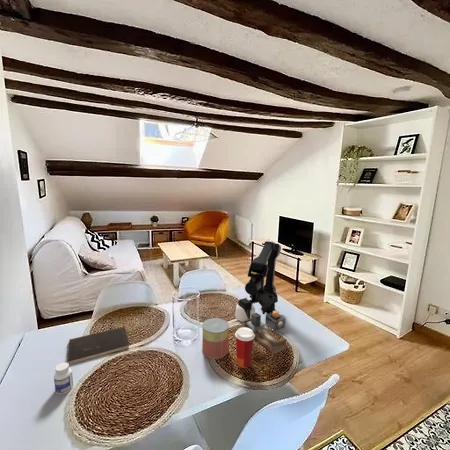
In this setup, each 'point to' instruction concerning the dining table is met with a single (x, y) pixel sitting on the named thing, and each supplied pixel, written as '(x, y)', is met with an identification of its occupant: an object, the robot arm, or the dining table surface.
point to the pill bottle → (63, 378)
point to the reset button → (275, 314)
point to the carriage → (255, 322)
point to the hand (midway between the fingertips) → (256, 316)
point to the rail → (265, 343)
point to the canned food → (215, 338)
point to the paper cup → (244, 346)
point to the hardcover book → (97, 344)
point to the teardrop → (243, 313)
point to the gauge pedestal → (275, 322)
